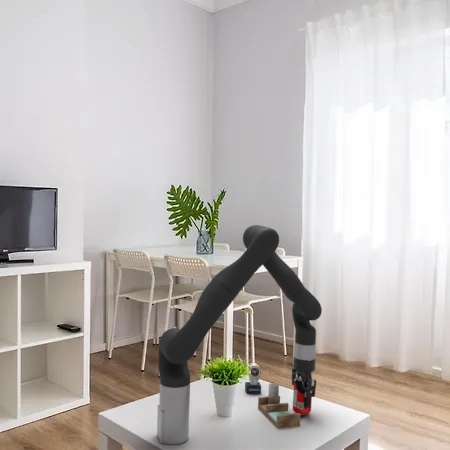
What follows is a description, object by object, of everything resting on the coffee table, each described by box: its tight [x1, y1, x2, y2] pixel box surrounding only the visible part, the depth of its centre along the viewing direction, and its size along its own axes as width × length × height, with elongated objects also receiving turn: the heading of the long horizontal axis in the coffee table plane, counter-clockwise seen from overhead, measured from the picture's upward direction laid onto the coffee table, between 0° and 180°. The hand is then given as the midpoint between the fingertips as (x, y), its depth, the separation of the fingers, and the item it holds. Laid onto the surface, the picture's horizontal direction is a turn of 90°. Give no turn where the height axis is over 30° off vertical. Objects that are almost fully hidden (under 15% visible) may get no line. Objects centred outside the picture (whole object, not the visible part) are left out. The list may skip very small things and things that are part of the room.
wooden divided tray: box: [257, 382, 301, 429], centre depth 175 cm, size 8×17×10 cm, turn 18°
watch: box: [244, 362, 263, 395], centre depth 197 cm, size 6×8×11 cm
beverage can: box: [292, 377, 313, 416], centre depth 177 cm, size 6×6×12 cm
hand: (302, 403), depth 177 cm, fingers closed on beverage can, 6 cm apart
